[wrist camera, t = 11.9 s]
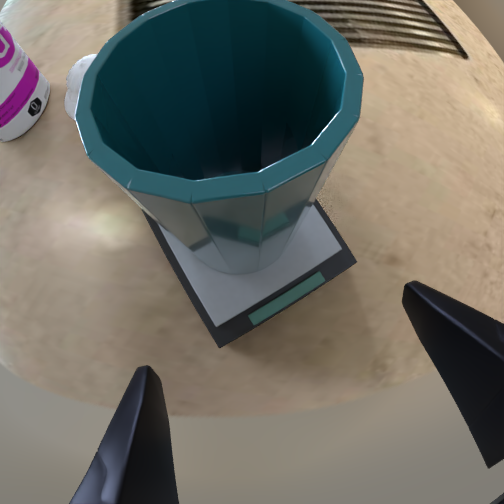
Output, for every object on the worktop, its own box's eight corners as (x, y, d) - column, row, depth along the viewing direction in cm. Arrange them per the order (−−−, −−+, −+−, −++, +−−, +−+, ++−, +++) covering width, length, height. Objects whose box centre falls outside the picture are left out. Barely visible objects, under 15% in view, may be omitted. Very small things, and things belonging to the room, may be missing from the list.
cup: (315, 209, 19) (404, 60, 6) (249, 298, 18) (238, 277, 5) (229, 150, 20) (204, -26, 7) (162, 230, 19) (34, 112, 6)
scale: (348, 266, 21) (360, 260, 18) (222, 344, 20) (218, 350, 17) (256, 131, 23) (257, 112, 20) (140, 197, 22) (127, 184, 19)
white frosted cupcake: (154, 120, 23) (127, 65, 16) (89, 155, 23) (47, 111, 16) (136, 76, 24) (112, 24, 17) (79, 107, 23) (44, 62, 17)
